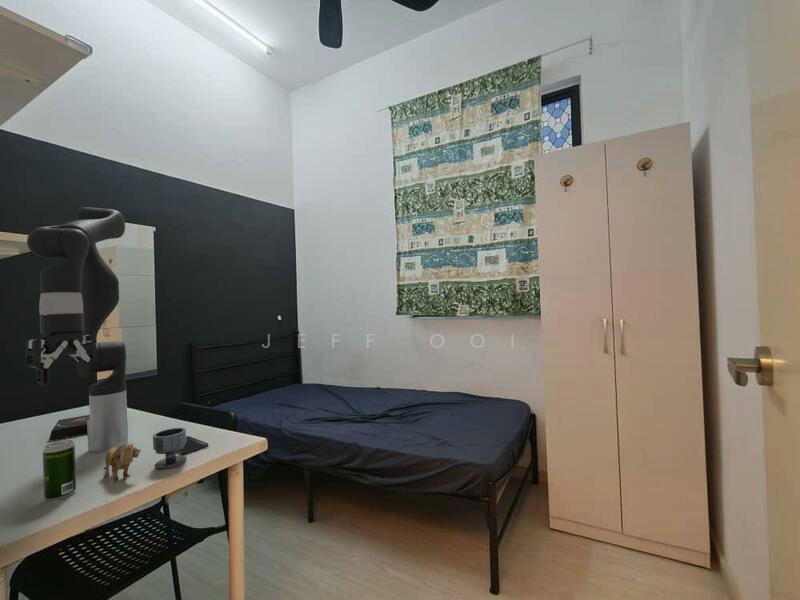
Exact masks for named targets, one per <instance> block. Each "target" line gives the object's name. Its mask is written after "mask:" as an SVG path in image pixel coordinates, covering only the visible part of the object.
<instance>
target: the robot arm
mask: <svg viewBox="0 0 800 600" xmlns="http://www.w3.org/2000/svg"><path fill="white" fill-rule="evenodd" d="M125 230H126V221H125V217H124V215H123V214H122V212H120V211H119V210H115V209H112V208H101V207H89V206H88V207H87V206H82V207H80V208H79V209H78V211H77V215H76V220H72V221H69V222H66V223H64V224H60V225H59V224H58V225H57V224H56V225H48V226H47V225H46V226H40V227H35V228H34V229H33V230H32V231H31V232H29V234H28V236H27V238H26V244H27V247H28V248H27V249H29V250H30V252H31V253H32V254H34V255H35V256H37V257H39V258H44V259H65V261H64V262H63V263H62V264H61V265H58V266H55V267H54V266H53V267H48V268H47V267H46V268H44V269H42V270H41V271H40V275H39V281H40V283H39V284H40V287H39V288H40V298H39V304H38V306H39V331H40V334H42V338H41V339H36V338H35V339H26V340H25V348H24V367H25V368H32V369H35V371H36V383H37V384H38V385H39V386H40V387H43V386H45V387H46V386H50V385H51V383H52V379H51V378H52V375H51V374H52V373H51V368H50V366H51V364H52V363H53V362H54V361H55V360H57V359H58V357H64V356H70V357H72V358H73V359H74V360H75V361H76V377H77V379H78V378H79V379H82V378H83V379H85V378H87V377H88V375H89V374H95V373H101V372H103V373H104V372H110V371H112V373H110V375H109V376H107V377H106V378H104V379H103V380H100V381H98V382H96V383H93V384H91V385H90V386H89V387H88V399H89V400H88V401H89V405H88V406H89V415H90V419H88V420H87V432H88V434H87V450H88V451H91V452H92V453H103V452H107V451H108V450H109V449H111V448H113V447H117V448H119V447H121V446H123V445H125V444H129V429H128V428H129V426H128V405H127V404H128V402H127V400H128V399H127V381H126V380H127V377H126V375H127V374H126V373H127V372H126V370H127V368H126V365H127V349H126V345H125V343H124V342H122V341H120V340H119V341H118V340H116V341H115V340H114V341H103V342H96V341H97V340H96V339H97V337H98V333H99V331H100V329H101V328H102V326H103V325H104V323H105V321H106V320H107V319H108V317H109V316H110V315H111V314H112V313H113V311H115V308H116V307H117V306H118V304H119V301H120V287H119V286H120V281H119V279H118V276H117V275H116V273H114V271H113V270H112V268H111V267H110V266H109V265H108V264H107V262H106V261H105V260H104V258H103V257H102V256H101V254H100V252H99V250H98V248H97V243H99V242H103V241H106V240H107V241H108V240H111V239H112V240H113V239H120V238H121V237H122V236H123V235H124V234H125ZM43 348H44V349H43ZM42 349H43V350H42Z"/></svg>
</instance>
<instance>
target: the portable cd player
mask: <svg viewBox="0 0 800 600" xmlns="http://www.w3.org/2000/svg"><path fill="white" fill-rule="evenodd" d="M88 419H90V414H85V415H81V416H73V417H68V418H62V419H58V421H57V422H55V423H56V424H55V425H54V426H53V427H52V429H51V431H50V436H49V437H48V438H49V441H51V440H54V441H56V440H55V439H59V440H62V439H61V438H64V439H67V438H66V437H69V438H73V437H72V436H75V437H79V436H78V435H80V436H84V435H83V434H85V435H88V432H87V420H88Z"/></svg>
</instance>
